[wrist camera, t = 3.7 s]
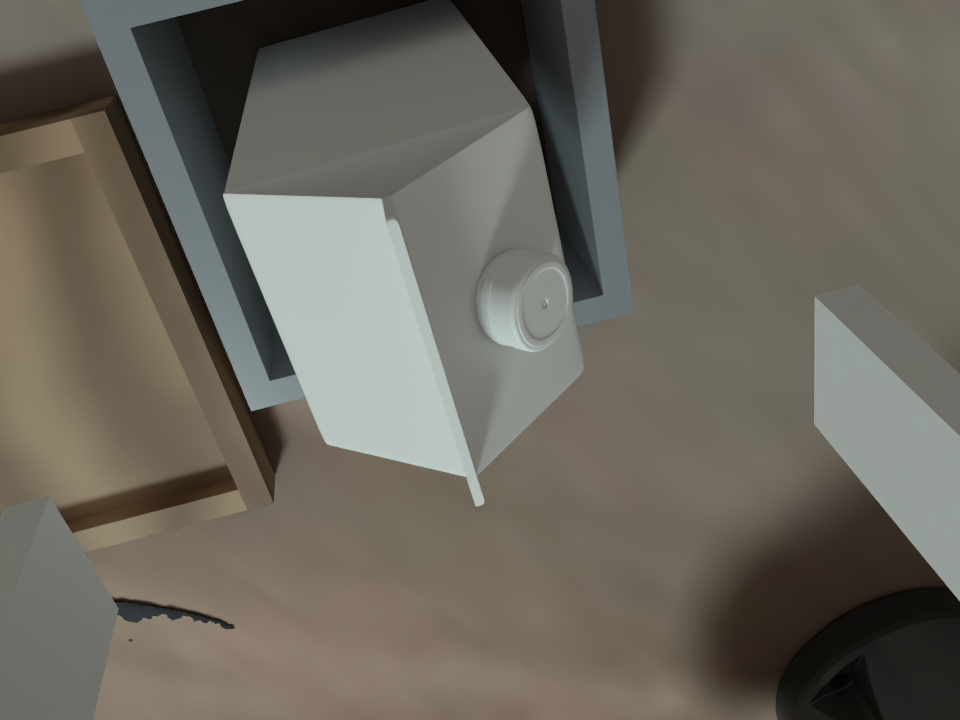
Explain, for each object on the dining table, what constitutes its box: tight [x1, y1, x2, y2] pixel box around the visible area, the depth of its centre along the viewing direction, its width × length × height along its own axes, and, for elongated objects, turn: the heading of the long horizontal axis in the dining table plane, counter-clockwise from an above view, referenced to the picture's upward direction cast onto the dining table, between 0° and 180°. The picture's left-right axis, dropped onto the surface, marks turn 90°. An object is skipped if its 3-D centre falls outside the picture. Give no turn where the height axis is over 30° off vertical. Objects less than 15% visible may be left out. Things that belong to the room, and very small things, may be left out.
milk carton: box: [223, 0, 584, 506], centre depth 26 cm, size 7×7×19 cm
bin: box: [80, 0, 634, 411], centre depth 31 cm, size 14×14×7 cm
